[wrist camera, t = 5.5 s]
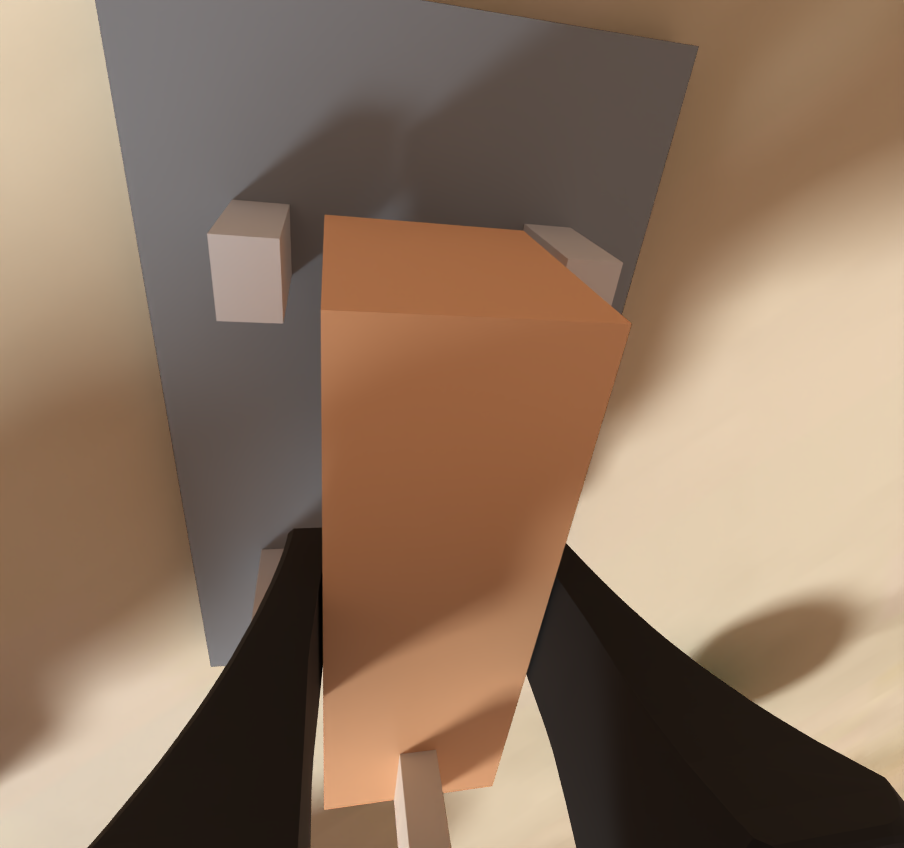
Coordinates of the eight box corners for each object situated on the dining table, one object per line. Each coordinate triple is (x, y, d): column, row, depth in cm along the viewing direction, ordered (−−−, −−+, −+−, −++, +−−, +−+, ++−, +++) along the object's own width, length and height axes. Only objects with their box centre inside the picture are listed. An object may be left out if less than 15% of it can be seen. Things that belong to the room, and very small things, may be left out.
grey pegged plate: (521, 618, 23) (553, 710, 20) (215, 642, 21) (193, 751, 17) (674, 47, 13) (793, 41, 10) (104, -47, 10) (0, -99, 7)
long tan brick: (454, 617, 18) (520, 909, 12) (325, 627, 17) (323, 947, 11) (523, 230, 12) (743, 419, 5) (324, 214, 11) (316, 417, 5)
